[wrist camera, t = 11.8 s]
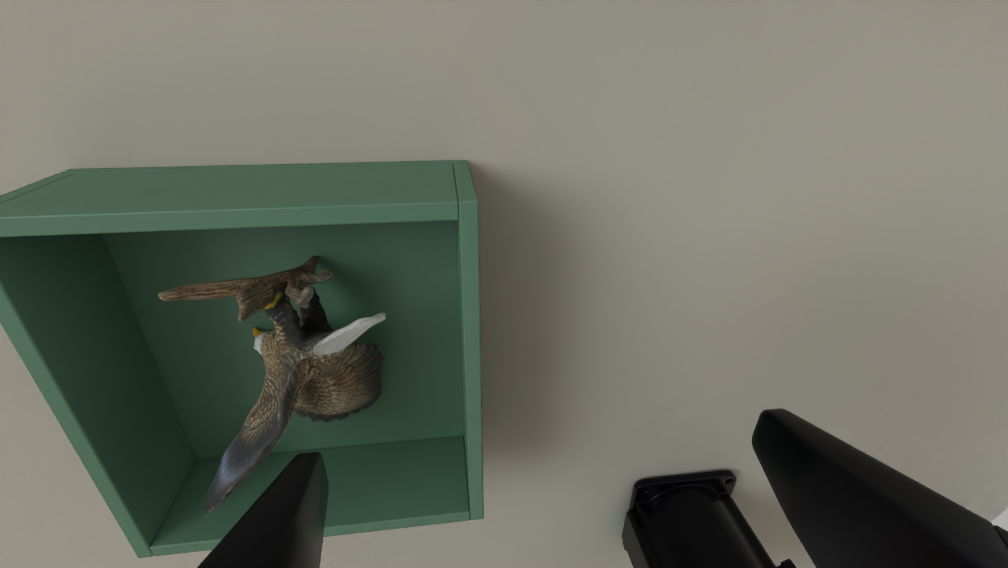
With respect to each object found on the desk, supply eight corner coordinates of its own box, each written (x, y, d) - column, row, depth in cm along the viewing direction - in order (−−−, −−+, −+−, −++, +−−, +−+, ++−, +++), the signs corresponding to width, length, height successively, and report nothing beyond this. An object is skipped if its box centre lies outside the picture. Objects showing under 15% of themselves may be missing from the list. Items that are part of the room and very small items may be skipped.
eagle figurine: (141, 260, 17) (180, 471, 20) (174, 322, 12) (220, 595, 15) (346, 239, 22) (355, 410, 24) (432, 276, 17) (431, 487, 19)
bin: (467, 159, 19) (478, 201, 14) (474, 433, 26) (483, 519, 21) (68, 168, 17) (-63, 218, 12) (192, 459, 24) (137, 559, 19)
